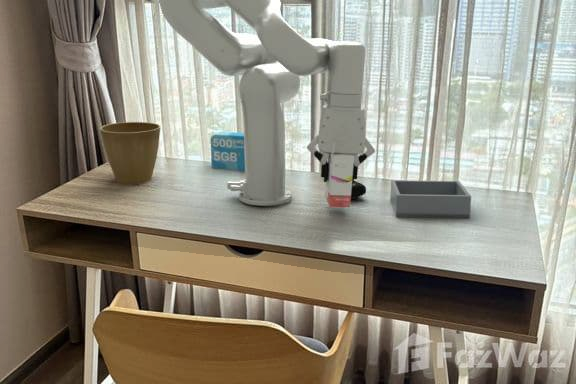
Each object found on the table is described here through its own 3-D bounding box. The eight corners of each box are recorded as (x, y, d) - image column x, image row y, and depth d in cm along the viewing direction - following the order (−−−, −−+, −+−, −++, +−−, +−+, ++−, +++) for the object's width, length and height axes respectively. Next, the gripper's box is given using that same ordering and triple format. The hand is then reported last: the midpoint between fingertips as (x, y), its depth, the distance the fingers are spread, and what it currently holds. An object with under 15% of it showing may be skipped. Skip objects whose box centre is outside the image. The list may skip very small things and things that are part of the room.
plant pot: (93, 192, 154) (87, 130, 150) (125, 178, 168) (120, 120, 163) (145, 196, 150) (141, 133, 145) (173, 181, 164) (170, 123, 159)
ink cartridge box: (351, 208, 134) (356, 142, 129) (329, 207, 133) (333, 142, 129) (345, 196, 142) (349, 134, 137) (324, 195, 141) (328, 133, 137)
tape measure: (367, 198, 145) (367, 183, 144) (342, 203, 143) (341, 188, 142) (354, 191, 152) (353, 177, 150) (329, 196, 149) (328, 182, 148)
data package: (211, 176, 169) (209, 134, 165) (217, 172, 173) (216, 131, 170) (252, 179, 165) (251, 136, 162) (257, 175, 170) (256, 133, 166)
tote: (395, 216, 134) (396, 195, 133) (390, 200, 146) (391, 180, 145) (469, 218, 133) (471, 196, 132) (457, 201, 145) (459, 181, 144)
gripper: (303, 101, 128) (299, 183, 133) (385, 105, 127) (378, 188, 132) (305, 96, 135) (301, 174, 140) (382, 100, 134) (375, 178, 139)
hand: (338, 180), depth 136 cm, fingers closed on ink cartridge box, 5 cm apart
